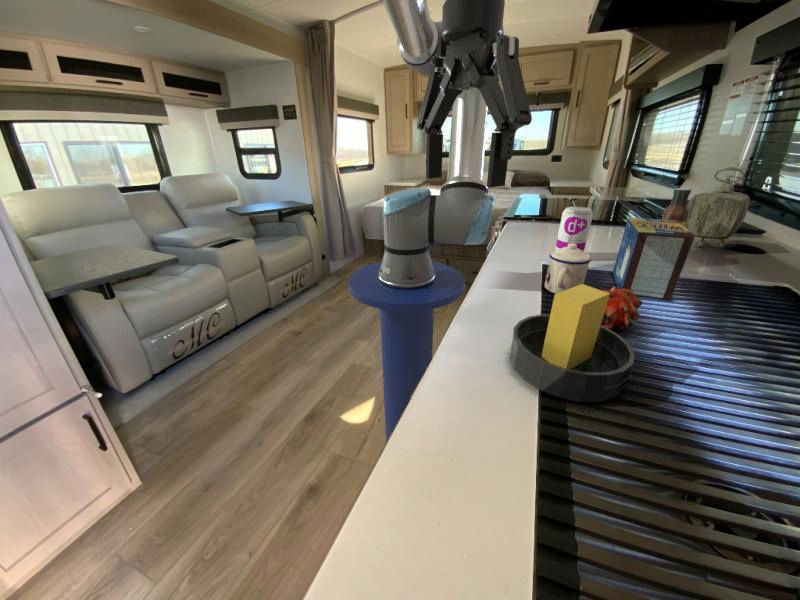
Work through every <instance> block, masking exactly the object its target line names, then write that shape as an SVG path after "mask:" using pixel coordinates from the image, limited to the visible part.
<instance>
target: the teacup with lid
mask: <svg viewBox="0 0 800 600" xmlns="http://www.w3.org/2000/svg"><path fill="white" fill-rule="evenodd" d="M548 261H549V262H548V265H547V271H546V274H545V281H544V288H545V289H546V290H547V291H548V292H550V293H553V294H554V295H555V294H557V293H559V292H562V291H565V290H567V289H570V288H572V287H575V286H578V285H580V284H584V285H585V280H586V277H587V273H588V269H589V265H590V263H591V261H592V257H591V255H590V254H589V253H587V252H585V251H584V252H583V251H581V250H580V249H578V248H577V245H576V244H573V243H570V244H568V246H567V247H564V248H561V249H556V250H555V249H553V250H551V252H550V253H549V260H548Z"/></svg>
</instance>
